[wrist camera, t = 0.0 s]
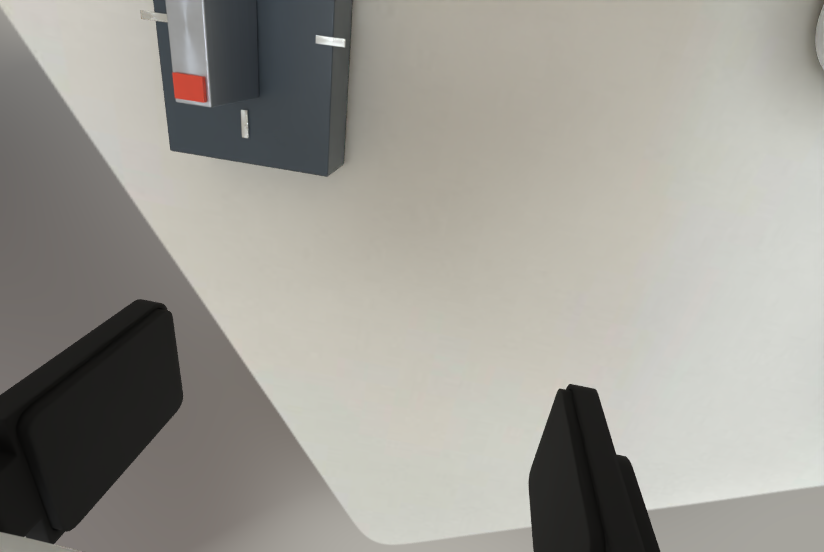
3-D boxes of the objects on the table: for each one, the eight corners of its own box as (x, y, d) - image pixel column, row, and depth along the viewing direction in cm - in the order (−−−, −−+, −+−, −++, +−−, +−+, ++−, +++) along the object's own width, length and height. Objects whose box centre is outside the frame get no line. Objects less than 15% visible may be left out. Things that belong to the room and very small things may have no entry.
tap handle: (221, -49, 21) (152, -74, 17) (255, -45, 21) (194, -69, 16) (229, 93, 24) (171, 102, 19) (259, 97, 23) (207, 108, 19)
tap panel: (169, -99, 23) (123, -120, 20) (369, -76, 22) (351, -94, 19) (191, 139, 28) (157, 149, 25) (353, 166, 27) (337, 179, 25)
